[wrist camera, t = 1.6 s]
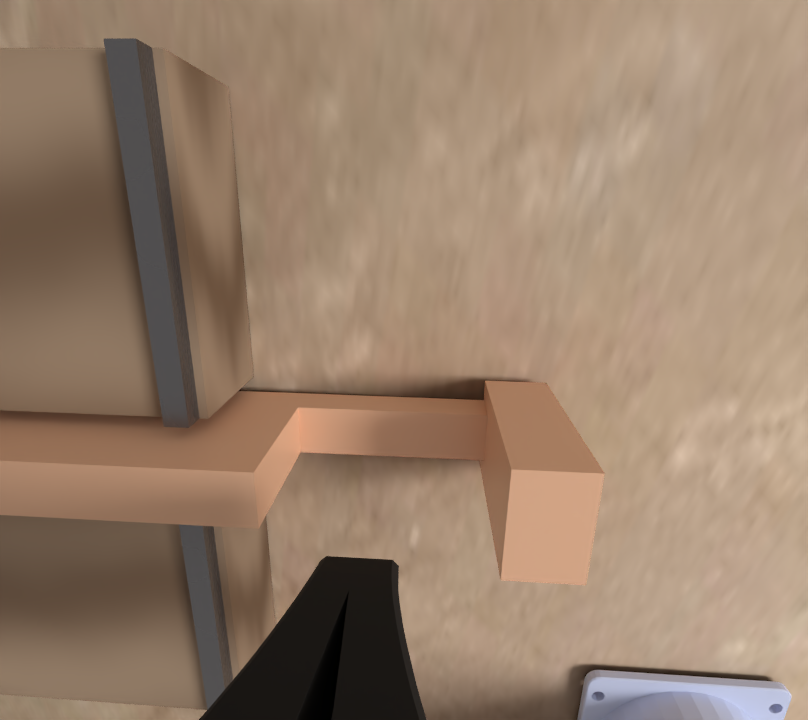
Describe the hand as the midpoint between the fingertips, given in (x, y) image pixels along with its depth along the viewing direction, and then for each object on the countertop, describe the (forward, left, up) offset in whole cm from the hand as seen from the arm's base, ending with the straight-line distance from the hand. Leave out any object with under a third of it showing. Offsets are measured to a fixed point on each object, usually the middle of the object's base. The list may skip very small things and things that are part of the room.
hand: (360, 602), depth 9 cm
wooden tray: (0, +12, -8) cm, 15 cm away
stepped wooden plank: (0, +6, -8) cm, 10 cm away
